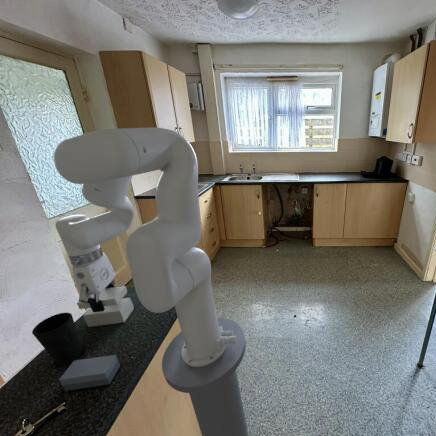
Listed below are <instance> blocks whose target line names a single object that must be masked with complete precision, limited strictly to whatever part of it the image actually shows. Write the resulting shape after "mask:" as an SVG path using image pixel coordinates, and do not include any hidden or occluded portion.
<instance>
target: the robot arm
mask: <svg viewBox="0 0 436 436" xmlns="http://www.w3.org/2000/svg"><path fill="white" fill-rule="evenodd" d="M53 162H54V163H53V164H54V166H55V169H56V170H57V172H58V174H59V175H60V176H61V178H63V179H64V180H66V181H67V182H69V183H72V184H75V185H82V188H81V194H82V197H83V198H84V199H85V200H86V201H88V203H90V204H92V205H94V206H97V207H101V208H106V209H109V211H107V212H104V213H101V214H98V215H95V216H91V217H89V215H87V214H72V215H68V216H65V217H62V218H60V219H57V221H56V222H55V228H56V231H57V233H58V235H59V238H60V240H61V242H62V245H63V248H64V249H65V251H66V253H67V256H68V258H69V261H70V264H71V265H72V272H73V277H74V280H75V282H76V283H75V284H76V286H77V288H78V291H79V292H80V293H79V297H78V301H79V302H84V303H89V304H90V306H91V309H92V311H93V312H102V311H104V310H105V308H104V306H103V304H102V301H101V300H99V293H101V292H102V291H103V290H104V289H105V288H112V287H116V286H115V284H116V282H115V280H114V279H115V278H116V272H115V269H114V268H113V266H112V263H111V261H110V259H109V257H108V256H107V255H106V254H105V252H104V251H103V250H102V246H101V244H103V243H105V242H108V241H110V240H112V239H114V238H116V237H120V236H121V235H124V234H125V233H126V232H127V231H128V230H129V229H130V228H131V225H132V223H133V220H134V218H135V209H134V206H133V204H132V202H131V200H130V198H129V197H128V196H127V193H128V190H129V188H130V184H131V182H132V178H133V176H137V175H141V174H145V173H146V174H147V173H151V172H154V171H158V170H160V172H161V174H160V177H159V178H158V181H157V184H156V188H155V203H156V210H157V211H156V212H157V215H156V217H155V218H153V219H152V220H150V221H147V222H145V223H144V224H140V225H139V226H137V227H135V228H134V229H133V230H132V231H131V232H130V233H129V235H128V237H127V239H126V243H125V251H126V258H127V262H128V265H129V270H130V274H131V278H132V282H133V287H134V290H135V293H136V296H137V298H138V300H139V302H140V304H141V305H142V306H143V307H144V308H145V309H146V310H148V311H149V312H151V313H155V314H161V313H165V312H167V311H170V310H171V309H172V308H174V309H175V314H176V317H177V321H178V324H179V328H180V332H182V335H183V339H184V342H185V343H184V345H183V348H182V353H181V354H182V358H183V361H184V362H185V364H187V365H188V366H191V367H203V366H206V365H209V364H211V363H213V362H214V361H216V360H217V359H218V358H219V357H220V356H221V355H222V354H223V353H224V351H225V349H226V347H227V344H229V343H230V344H232V343H236V336H231V335H233V330H231V331H226V332H225V331H223V328H222V326H219V324H218V319H217V318H218V315H217V309H216V305H215V298H214V293H213V289H212V288H213V287H212V264H211V260H210V258H209V256H208V254H207V253H206V252H205V251H204V250H203V249H202V248H199V247H196V246H197V245H198V244H199V242H200V241H201V239H202V220H201V208H200V207H201V206H200V198H199V164H198V158H197V155H196V152H195V150H194V148H193V146H192V145H191V143H190V142H189V140H187V139H186V137H184V136H183V135H182V134H180V133H179V132H177V131H175V130H172V129H169V128H163V127H127V128H126V127H125V128H124V127H123V128H104V129H97V130H93V131H90V132H87V133H83V134H79V135H77V136H73V137H70V138H67V139H64V140H62V141H61V142H59V143H58V145H57V146H56V147H55V150H54V153H53ZM90 291H91V292H90ZM93 294H94V298H91V295H93ZM227 336H230V337H227Z"/></svg>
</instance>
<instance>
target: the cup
mask: <svg viewBox="0 0 436 436" xmlns="http://www.w3.org/2000/svg"><path fill="white" fill-rule="evenodd" d="M31 334H32V335H33V337H35V339H36V340H37V342H39V343H40V345H41V346H42V347H43V349H44V350H45V351H46V352H47V353H48V355H49V356H50V357H51V358H52V360H54V362H55V363H56V364H57V365H58V366H65V365H68V364H71V363H73V361H75V360H78V358H79V357H81V355H82V354H83V353H84V349H83V345H82V342H81V340H80V336H79V332H78V330H77V326H76V323H75V320H74V318H73V315H72V313H70V312H60V313H56V314H53V315H51V316H48V317H47V318H44V319H43V320H42V321H40V322H38V323H37V324H36V325H35V326H34V327H33V329H32V332H31Z"/></svg>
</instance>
